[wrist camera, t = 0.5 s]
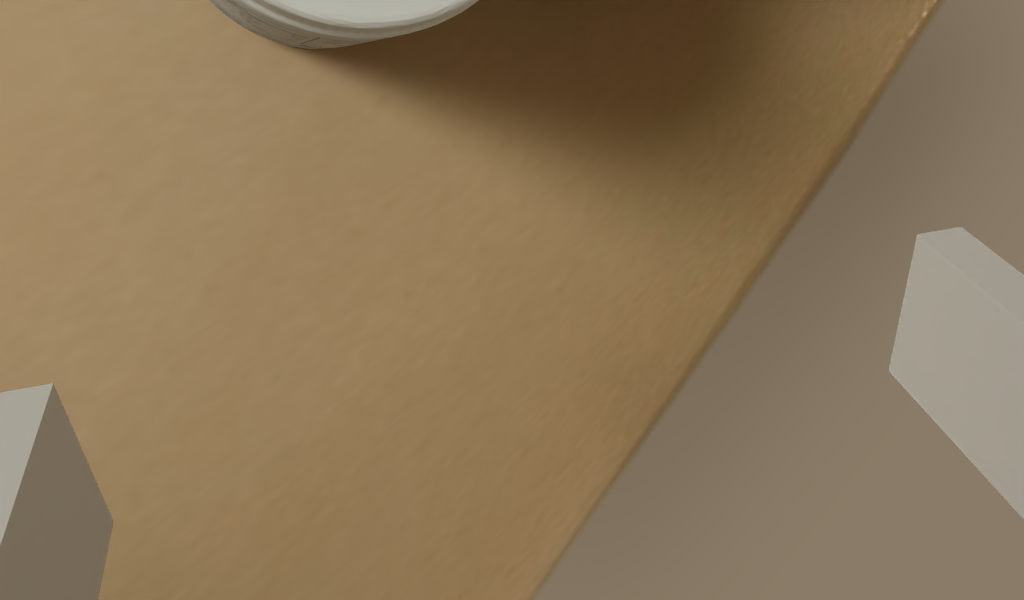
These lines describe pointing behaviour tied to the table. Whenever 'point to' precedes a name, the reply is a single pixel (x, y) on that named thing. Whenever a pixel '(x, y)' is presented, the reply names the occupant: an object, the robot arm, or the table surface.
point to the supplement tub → (338, 19)
